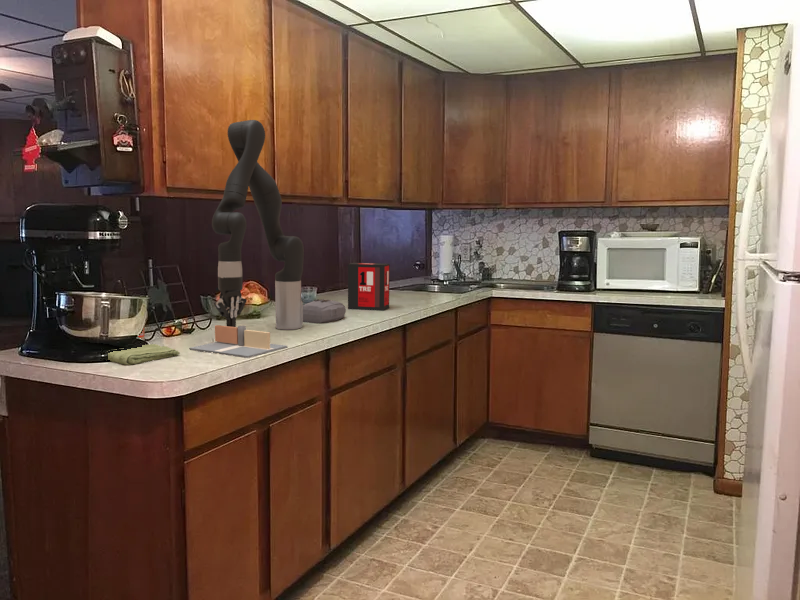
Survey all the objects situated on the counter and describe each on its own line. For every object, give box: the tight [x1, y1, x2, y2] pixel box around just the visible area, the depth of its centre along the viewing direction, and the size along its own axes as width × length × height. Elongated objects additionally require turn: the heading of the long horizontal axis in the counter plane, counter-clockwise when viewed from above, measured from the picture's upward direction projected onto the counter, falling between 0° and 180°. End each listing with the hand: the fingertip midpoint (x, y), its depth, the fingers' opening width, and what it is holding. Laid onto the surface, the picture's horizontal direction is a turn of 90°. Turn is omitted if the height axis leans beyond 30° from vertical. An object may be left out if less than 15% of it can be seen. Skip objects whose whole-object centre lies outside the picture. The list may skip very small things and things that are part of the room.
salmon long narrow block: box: [214, 324, 238, 344], centre depth 204 cm, size 9×1×5 cm, turn 62°
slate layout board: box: [188, 325, 288, 359], centre depth 200 cm, size 18×23×6 cm
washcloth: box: [108, 343, 180, 366], centre depth 185 cm, size 13×18×3 cm
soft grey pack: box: [303, 298, 347, 324], centre depth 259 cm, size 15×8×20 cm
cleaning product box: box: [347, 262, 391, 312], centre depth 290 cm, size 16×9×20 cm, turn 76°
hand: (231, 329), depth 210 cm, fingers closed
